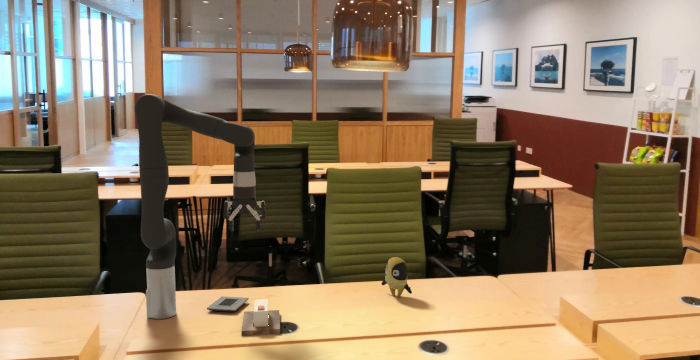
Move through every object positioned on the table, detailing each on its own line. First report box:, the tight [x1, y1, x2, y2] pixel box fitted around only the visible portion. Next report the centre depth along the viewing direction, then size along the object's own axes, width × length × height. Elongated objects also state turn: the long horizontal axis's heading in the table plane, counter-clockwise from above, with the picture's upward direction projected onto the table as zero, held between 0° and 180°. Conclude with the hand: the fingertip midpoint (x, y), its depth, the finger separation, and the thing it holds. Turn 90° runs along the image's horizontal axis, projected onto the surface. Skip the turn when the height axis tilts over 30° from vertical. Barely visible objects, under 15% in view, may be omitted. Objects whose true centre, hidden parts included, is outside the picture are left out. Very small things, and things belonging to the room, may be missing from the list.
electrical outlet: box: [206, 296, 250, 312], centre depth 215 cm, size 13×10×2 cm
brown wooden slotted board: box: [241, 309, 281, 336], centre depth 198 cm, size 12×18×2 cm, turn 7°
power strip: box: [253, 298, 269, 327], centre depth 197 cm, size 4×12×7 cm, turn 8°
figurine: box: [381, 256, 413, 298], centre depth 226 cm, size 8×16×15 cm, turn 42°
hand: (244, 230), depth 207 cm, fingers open, 8 cm apart
